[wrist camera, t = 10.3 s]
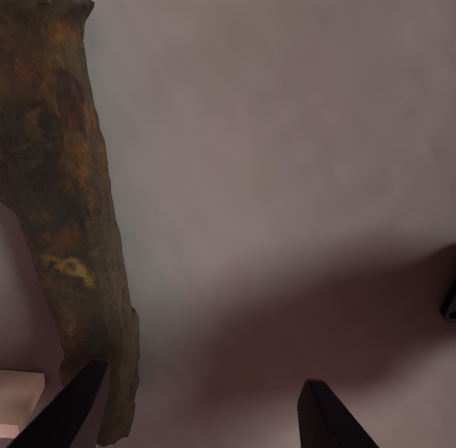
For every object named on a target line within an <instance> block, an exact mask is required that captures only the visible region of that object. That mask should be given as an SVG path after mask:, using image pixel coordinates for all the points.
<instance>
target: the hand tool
mask: <svg viewBox="0 0 456 448" xmlns="http://www.w3.org/2000/svg"><path fill="white" fill-rule="evenodd" d="M94 4H95V3H94V2H93V1H91V0H0V186H1V189H0V201H1V203H3V204H4V205H6V206H7V207H8V208H10V209H11V210H13V211H14V212H15V213H16V215H17V217H18V219H19V223H20V226H21V230H22V232H23V234H24V236H25V238H26V242H27V245H28V248H29V250H30V253H31V256H32V259H33V262H34V266H35V269H36V272H37V275H38V278H39V280H40V283H41V286H42V289H43V292H44V295H45V298H46V301H47V303H48V306H49V308H50V311H51V313H52V315H53V318H54V320H55V323H56V326H57V329H58V332H59V336H60V339H61V345H62V348H63V350H64V352H65V355H64V360H63V362H62V364H61V366H60V369H59V375H60V378H61V381H62V384H63V388H64V387H65V386H66V385H67V384H68V383H69V382H70V381H71V380H72V379H73V378H74V377H75V375H76V374H77V373H78V372H79V371H80V370H81V369H82V368H83V367H84V366H85V365H86V364H87V363H88V362H89V361H90V360H91V359H94V358H96V359H107V360H109V361H110V382H109V391H108V395H107V399H106V404H105V408H104V412H103V416H102V420H101V424H100V429H99V433H98V437H97V441H96V444H97V445H100V446H103V447H105V446H108V445H111V444H115V443H116V442H117V441H118V440H119V439H121V438H123V437H128V435H129V432H130V430H131V425H132V422H133V417H134V411H135V403H134V399H135V394H136V390H137V388H138V384H139V377H138V374H137V371H138V360H139V358H140V354H139V318H138V315H137V312H136V310H135V309H133V308H131V302H130V296H129V290H128V284H127V276H126V270H125V265H124V260H123V253H122V243H121V236H120V231H119V228H118V225H117V221H116V218H115V212H114V205H113V200H112V196H111V181H110V178H109V171H108V162H107V155H106V147H105V141H104V138H103V136H102V133H101V131H100V126H99V119H98V114H97V112H96V109H95V107H94V101H93V95H92V89H91V84H90V80H89V76H88V71H87V63H86V55H85V49H84V43H83V36H84V26H85V21H86V19H87V18H88V16H89V15H90V13H91V11H92V9H93V7H94Z"/></svg>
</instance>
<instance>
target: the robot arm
mask: <svg viewBox="0 0 456 448" xmlns="http://www.w3.org/2000/svg"><path fill="white" fill-rule="evenodd" d="M451 312H452V313H451ZM440 314H441V316H442V317H443V318H444V319H445V320H446V321H447V322H450V323H456V281H455V283H454V285H453V287H452V289H451V291H450V292H449V294H448V296H447V298H446V300H445V302H444V304H443V305H442V307H441V309H440ZM109 382H110V361H109V360H107V359H96V358H94V359H91V360H90V361H89V362H88V363H87V364H86V365H85V366H84V367H83V368H82V369H81V370H80V371H79V372H78V373H77V374H76V375H75V377H74V378H73V379H72V380H71V381H70V382H69V383H68V384H67V385H66V386H65V387H64V388H63V389H62V390H61V391H60V392H59V393H58V394H57V395H56V396H55V397H54V398H53V399H52V400H51V401H50V402H49V403H48V404H47V405H46V406H45V407H44V408H43V409H42V410H41V411H40V413H39V414H38V415H37V416H36V417H35V418H34V419H33V420H32V421H31V422H30V423H29V424H28V425H27V426H26V427H25V428H24V429H23V430H22V431H21V432H20V433H19V434H18V435H17V436H16V437H15V438H14V439H13V440H12V441H11V442H10V443H9V444H8V445H7V446H6V447H5V448H95V445H96V441H97V437H98V433H99V429H100V424H101V420H102V416H103V412H104V408H105V404H106V399H107V395H108V391H109ZM297 412H298V422H299V432H300V442H301V448H379V447H378V446H377V444H376V443H375V442H374V441H373V440H372V438H371V437H370V436H369V435H368V434H367V432H366V431H365V430H364V429H363V428H362V426H361V425H360V424H359V423H358V422H357V420H356V419H355V418H354V417H353V415H352V414H351V413H350V412H349V411H348V409H347V408H346V407H345V406H344V405H343V403H342V402H341V401H340V400H339V399H338V397H337V396H336V395H335V394H334V392H333V391H332V390H331V389H330V388H329V386H328V385H327V384H326V383H325V382H324V381H323V380H318V379H307V380H306V381H305V383H304V386H303V388H302V391H301V394H300V396H299V399H298V404H297Z"/></svg>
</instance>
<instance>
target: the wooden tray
mask: <svg viewBox="0 0 456 448" xmlns="http://www.w3.org/2000/svg"><path fill="white" fill-rule="evenodd" d="M44 388H45V376H44V373H34V372H23V371H12V370H0V437H2V438H15V437H16V436H17V435H18V434H19V433H20V432H21V431H22V430H23V429H24V428H25V427H26V425H27V423H28V421H29V419H30V417H31V415H32V412H33V410H34V408H35V406H36V404H37V402H38V400H39V398H40V396H41V394H42V392H43V390H44Z"/></svg>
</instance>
